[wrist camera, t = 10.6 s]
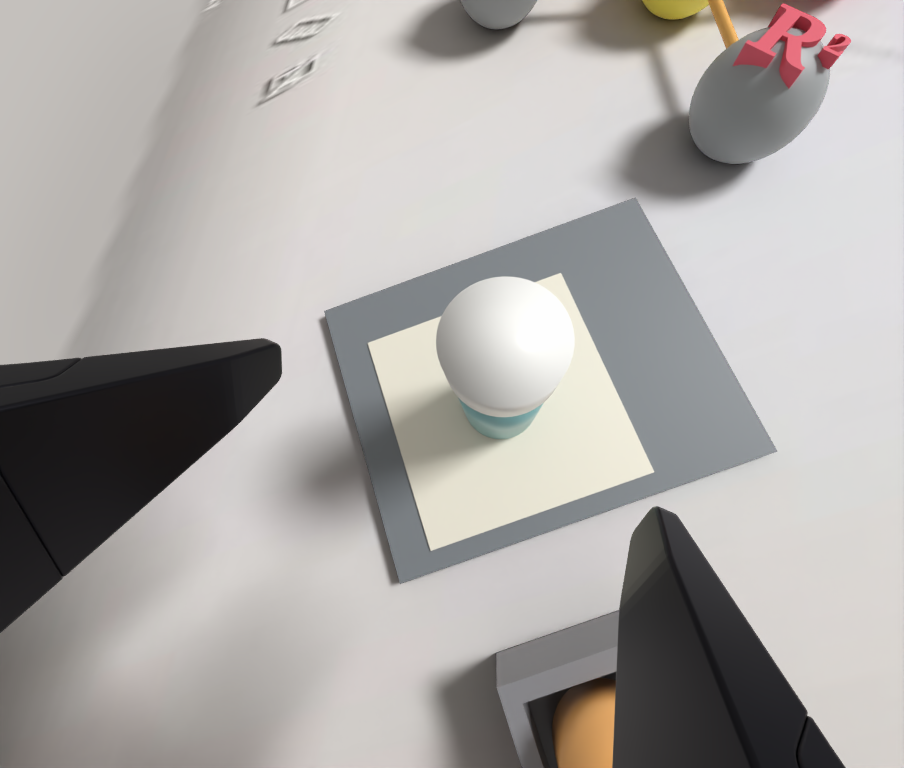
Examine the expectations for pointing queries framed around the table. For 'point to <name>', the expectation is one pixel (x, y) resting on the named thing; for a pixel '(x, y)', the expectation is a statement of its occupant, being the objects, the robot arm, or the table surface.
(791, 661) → the table surface
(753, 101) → the molecule model
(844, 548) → the table surface
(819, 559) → the table surface
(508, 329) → the white-capped teal tube
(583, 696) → the button
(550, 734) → the button housing
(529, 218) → the table surface
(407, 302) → the drawing board
